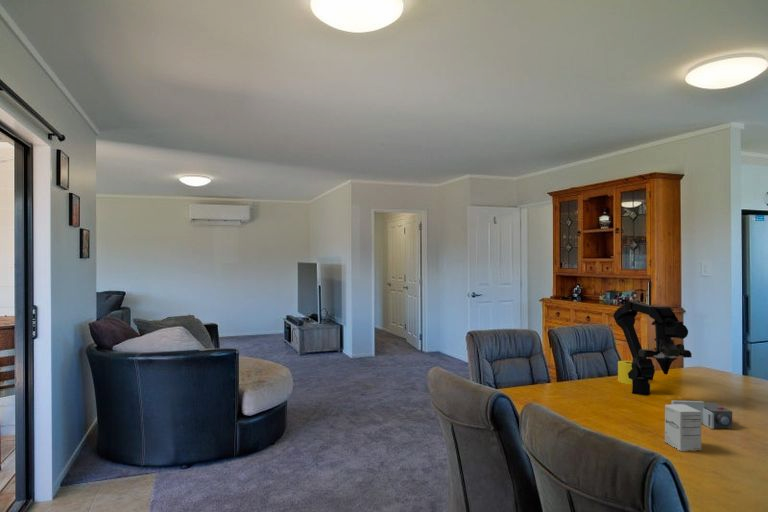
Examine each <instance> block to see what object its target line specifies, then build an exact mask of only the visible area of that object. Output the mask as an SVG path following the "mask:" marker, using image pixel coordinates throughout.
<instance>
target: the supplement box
mask: <svg viewBox="0 0 768 512" xmlns="http://www.w3.org/2000/svg"><path fill="white" fill-rule="evenodd" d="M665 442H666V443H665ZM664 443H665V444H667V443H668V444H667V445H669V446H671V447H673V448H674V447H675V448H674V449H676V448H677V449H676V450H678V451H679V450H680V451H679V452H687V451H686V450H701V451H702V423H701V411H699V410H696V409H694V408H692V407H690V406H687V405H685V404H672V403H671V404H665V405H664Z"/></svg>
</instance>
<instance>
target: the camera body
mask: <svg viewBox="0 0 768 512" xmlns="http://www.w3.org/2000/svg"><path fill="white" fill-rule="evenodd" d="M703 402H704V408H705V409H706V410H708V411H710V412H712V413H714V429H733V410H731V409H728V408H726V407H725V406H722V405H720V404H718V403H716V402H708V401H707V402H705V401H703Z"/></svg>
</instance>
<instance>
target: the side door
mask: <svg viewBox="0 0 768 512" xmlns="http://www.w3.org/2000/svg"><path fill="white" fill-rule="evenodd" d="M704 402H705V401H703V400H674V399H673V400H671V405H672V404H685V405H687V406H690V407H692V408H694V409H696V410H699V411H701V425H702V424H703V425H704V426H706V427H707V428H709V429H711V430H714V429H715V428H714V413H712V412H710V411H708V410H706V409H705V408H704Z"/></svg>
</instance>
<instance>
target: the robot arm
mask: <svg viewBox="0 0 768 512" xmlns="http://www.w3.org/2000/svg"><path fill="white" fill-rule="evenodd" d="M639 313H641V314H643V315H648V316H649V318H651V319H652V320H654V321H652V322H651V326H654V327H655V329H654V330H655V331H654V332H655V337H654V341H655V345H656V346H655V348H654V350H652V349H650V348H649V349H648V348H642V345H641V342H640V339H639V336H638V334H637V332H636V329H635V323H636V317H637V316H638V314H639ZM613 318H614V321H615V323H616V325H617V326H618V327H619V328H620V329H622V332H623V335H624V338H625V340H626V343H627V346H628V349H629V352H630V355H631V357H632V360H631V361H632V364H631V366H632V369H631V370H630V372H629V373H628V377H629V378H630V379H632V385H631V387H632V389H631V390H632V391H631V394H636V395H642V396H649V394H650V393H651V383H650V382H649V381H653V379H654V375H655V373H656V369H655V366H654V363H653V359H655V360H656V362H657V363H658V365H659V367H660V369H661V371H662V373H663V374H664V375H668V373H669V371H670V369H671V365H672V363H673V362H674V361H675V360H678V358H677V357H679V356H680V357H683V358H685V359H686V358H692V352H691V351H690V350H688V349H685V345H684V344H682V343H677V344H675V342H674V339H682V340H683V339H685V338H686V337H688V335H689V330H688V328H687V326H686V325H684V321H679V318H678V317H677V316H676V314H675V313H674V311H673V308H672V307H671V306H668V305H667V306H663V305H662V306H661V305H660V306H655V305H652V304H647V303H642V302H639V301H637V300H635V301H633V300H632V301H626V303H625V304H623V305H622V306H620V307H618V308H617V309H616V310H615V311H614V312H613ZM672 338H673V339H672ZM651 358H653V359H651Z"/></svg>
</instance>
